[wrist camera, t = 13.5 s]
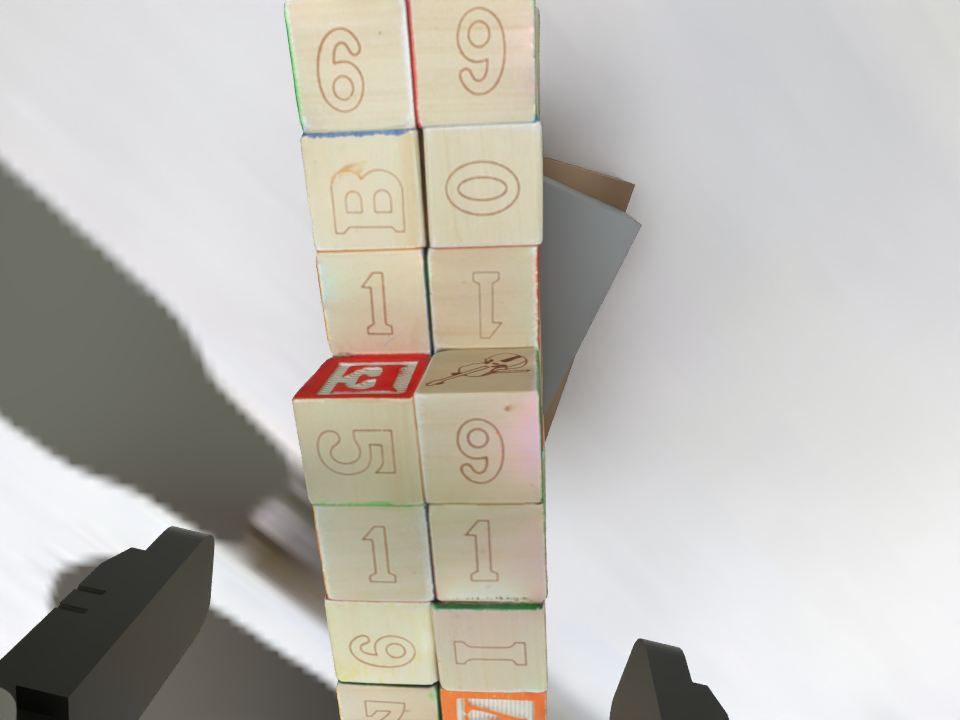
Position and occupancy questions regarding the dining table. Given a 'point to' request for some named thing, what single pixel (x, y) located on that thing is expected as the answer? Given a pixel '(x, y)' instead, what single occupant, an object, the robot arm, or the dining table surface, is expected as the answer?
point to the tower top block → (575, 272)
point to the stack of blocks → (427, 352)
